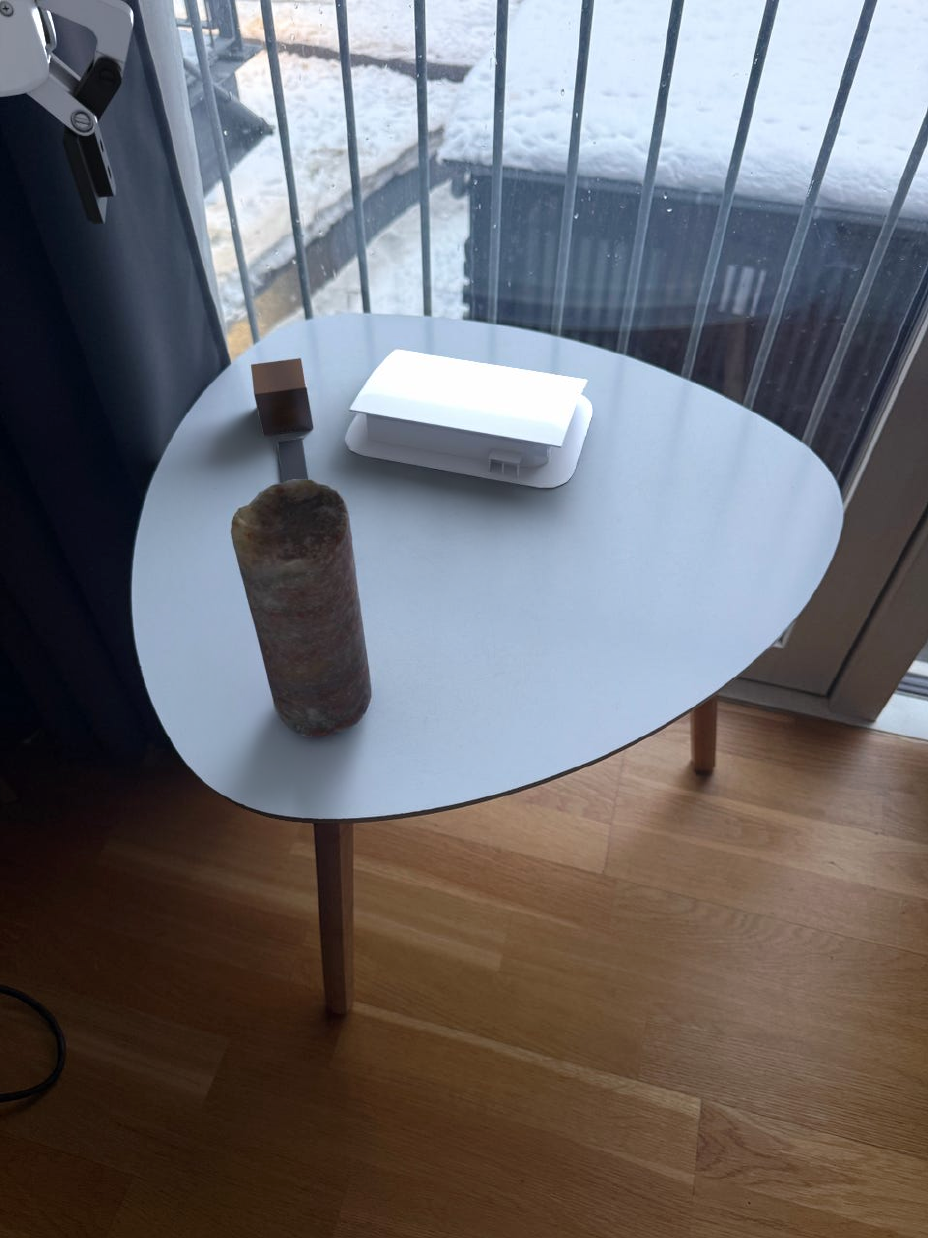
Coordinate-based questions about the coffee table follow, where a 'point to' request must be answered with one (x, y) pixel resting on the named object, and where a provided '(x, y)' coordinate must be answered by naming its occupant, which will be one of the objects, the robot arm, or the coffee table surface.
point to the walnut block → (281, 396)
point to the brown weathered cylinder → (305, 604)
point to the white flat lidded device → (472, 419)
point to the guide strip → (292, 460)
